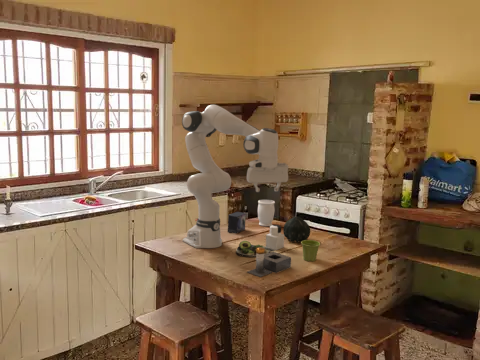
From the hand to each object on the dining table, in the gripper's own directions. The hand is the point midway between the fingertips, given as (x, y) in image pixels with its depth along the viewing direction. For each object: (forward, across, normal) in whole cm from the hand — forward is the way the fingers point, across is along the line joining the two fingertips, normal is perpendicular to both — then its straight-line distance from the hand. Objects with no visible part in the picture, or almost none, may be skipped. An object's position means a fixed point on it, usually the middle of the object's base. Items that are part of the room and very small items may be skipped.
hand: (267, 191), depth 230 cm
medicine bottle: (+34, -12, -17) cm, 40 cm away
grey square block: (+34, -1, +11) cm, 36 cm away
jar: (+34, -22, -61) cm, 74 cm away
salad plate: (+35, +2, -12) cm, 37 cm away
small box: (+34, -1, -51) cm, 62 cm away
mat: (+34, +8, +16) cm, 39 cm away
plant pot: (+34, -22, +4) cm, 41 cm away
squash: (+34, -28, -27) cm, 52 cm away
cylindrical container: (+34, +8, +16) cm, 38 cm away
